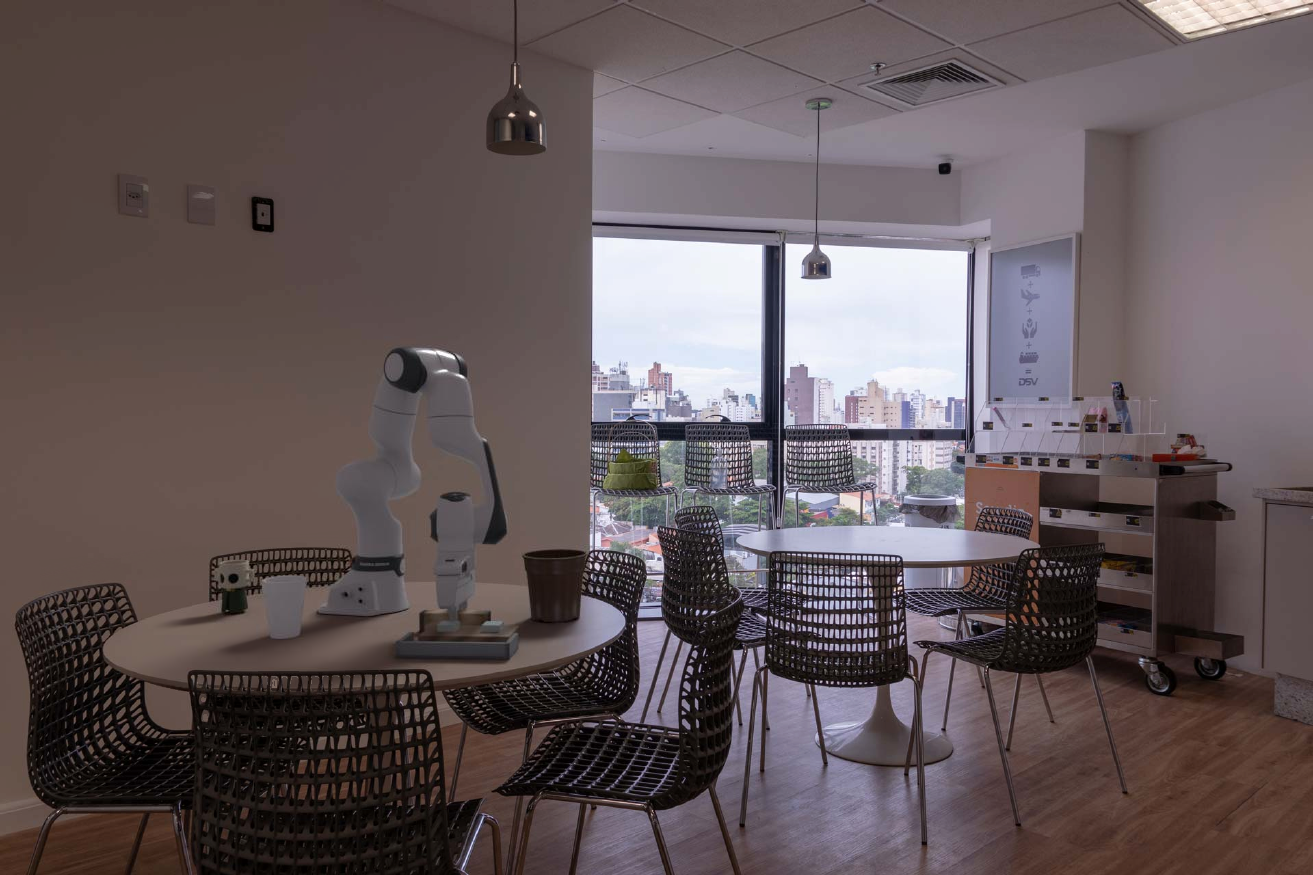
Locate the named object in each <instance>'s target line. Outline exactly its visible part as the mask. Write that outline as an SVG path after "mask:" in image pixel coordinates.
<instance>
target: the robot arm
mask: <svg viewBox="0 0 1313 875" xmlns="http://www.w3.org/2000/svg"><path fill="white" fill-rule="evenodd" d="M467 377H468V366H467V363H466V361H465V359H464V357H462V356H461V355H459V354H457V353H456V352H452V351H450V350H449V351H448V350H442V349H438V348H432V347H410V346H400V347H399V346H398V347H396V348H393V349H391V350H390V351H389V352H388V354H386V357H385V359H384V364H383V374H382V377H381V379H380V380H379V384H378V386H377V388H376V393H375V397H374V400H373V403H372V409H371V413H370V418H369V422H368V428H367V434H368V437H369V438H370V440H371V441H372V442H374V443H375V444H374V445H375V449H376V451H375V458H374V459H363V460H361V459H360V460H359V459H358V460H355V461H352V462H350V463H348V464H345V465H342V466H341V467H340V468H339V470H338V471H337V473H336V476H335V481H334V482H335V484H334V485H335V486H334V487H335V490H336V492H337V494H338V496H339V497H340V498H341V499H342V500H343V501H344V502H346V504H348V507H349V508H350V509H351V511H352V514H353V517H354V520H355V523H356V529H357V530H356V532H357V554H356V555H354V556H353V557H352V558H350V559H349V560H348V561H349V563H348V565H350V566H351V567H350V568H351V569H350V570H349V571H348V572H346V573H345V574H344V575H343V576H342V577H340V578H339V579H338V580H337V581H335V582H334V583H333V584H331V586H330V588H329V591H328V595H327V602H325V603H323V604H321V605H320V606H319V607H318V613H319V614H325V615H326V614H327V615H343V616H344V615H345V616H346V615H347V616H357V617H358V616H360V617H362V616H363V617H372V616H377V615H382V614H389V613H395V612H400V611H404V610H406V609H409V608H410V603H409V601H408V600H409V599H408V596H407V592H406V587H405V577H404V575H405V570H406V567H405V566H406V561H405V554H404V552H403V525H402V523H401V521H400V520H399V519H398V518H396V517H395V516H394V515H393V513H392V511H391V508H390V505H389V504H390V503H389V501H392V500H400V499H403V498H406V497H408V496H410V495H413V494H414V493H415V492H417V491H418V489H419V488H420V486H421V484H422V472H421V470H420V468H419V466H418V465H417V463H416V462H415V461H414V457H413V450H412V443H413V442H412V441H413V434H414V429H415V426H416V425H415V424H416V420H417V415H418V408H419V404H420V399H421V397H422V396H424V397H425V399H426V403H427V429H428V436H429V440H430V442H431V443H432V444H433V446H434V447H435V448H437V450H439V451H441V452H443V453H445V454H447V455H450V456H452V457H456V458H458V459H461V460H464V461H466V462H468V463H470V464H471V465H472V466H474V467H475V468H476V470H477V472H478V475H479V476H478V477H479V480H480V484H481V485H480V486H481V490H482V494H483V499H484V501H483V502H482V503H477V504H476V503H475V504H474V503H473V498H472V495H471V494H470V493H467V492H462V491H451V492H449V491H448V492H446V493H443V494H441V495H440V496H439V497H438V501H437V508H435V509H434V510H433V511H432V512H431V513H430V515H429V519H430V536H429V537H430V538H431V539H432V540H433V541H434V542H435V543H438V544H437V547H436V548H437V549H436V561H435V563H434V565H433V568H432V569H433V572H432V573H433V575H434V576H436V577H435V588H436V602H437V605H438V608H439V610H447V612H448V615H449V621H459V616H458V613H457V610H468V605H469V599H470V598H472V597H473V596H475V594H476V580H475V578H476V577H475V570H476V569H477V550H476V549H477V548H476V545H480V544H481V545H491V546H492V545H493V546H494V545H497V544H499V543H500V542H501V541H502V540H503V539H504V538H505V537H506V536H507V534H508V528H509V521H508V517H507V514H506V511H505V508H504V505H503V501H502V497H501V492H500V487H499V486H500V485H499V482H498V477H497V472H496V467H495V464H494V463H495V462H494V459H493V454H492V451H491V447H490V445H489V442H488V440H487V439H486V438H484V437H483V436H481V435H480V433H479V432H478V430H477V428H476V424H475V414H474V412H475V411H474V404H473V403H474V402H473V396H472V391H471V385H470V383H469V380H468V379H467Z"/></svg>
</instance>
